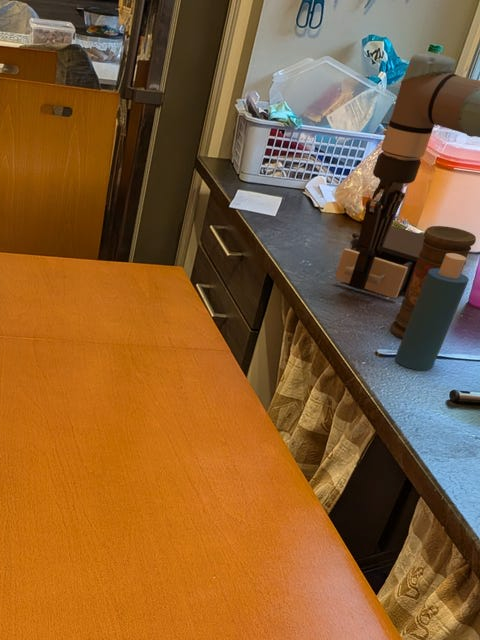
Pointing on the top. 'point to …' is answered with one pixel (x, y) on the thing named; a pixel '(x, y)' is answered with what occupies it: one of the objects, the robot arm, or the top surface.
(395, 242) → the cabinet
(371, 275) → the drawer
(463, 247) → the container
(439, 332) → the bottle
